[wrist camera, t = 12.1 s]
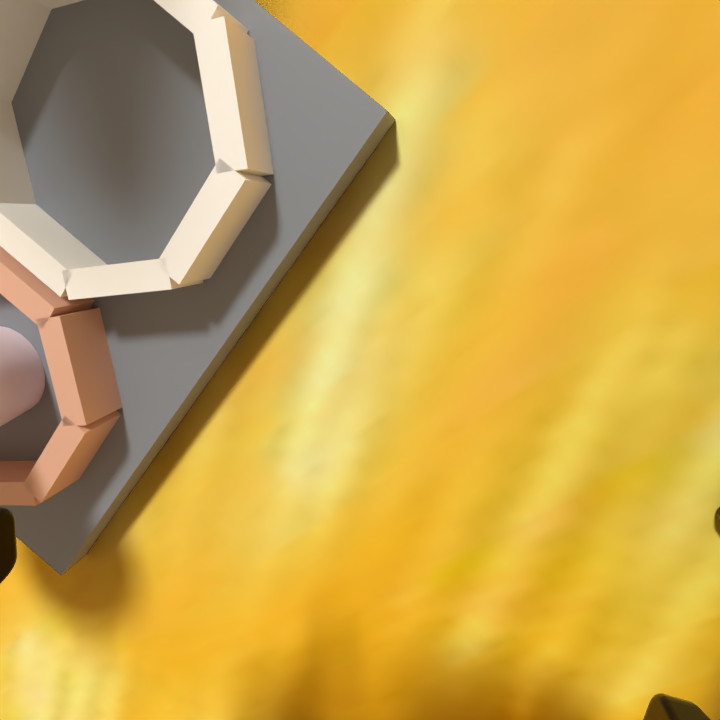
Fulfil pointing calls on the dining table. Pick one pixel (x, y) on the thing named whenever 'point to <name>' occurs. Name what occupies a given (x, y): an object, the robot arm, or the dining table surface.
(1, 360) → the smoothie
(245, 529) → the dining table surface
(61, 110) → the board
